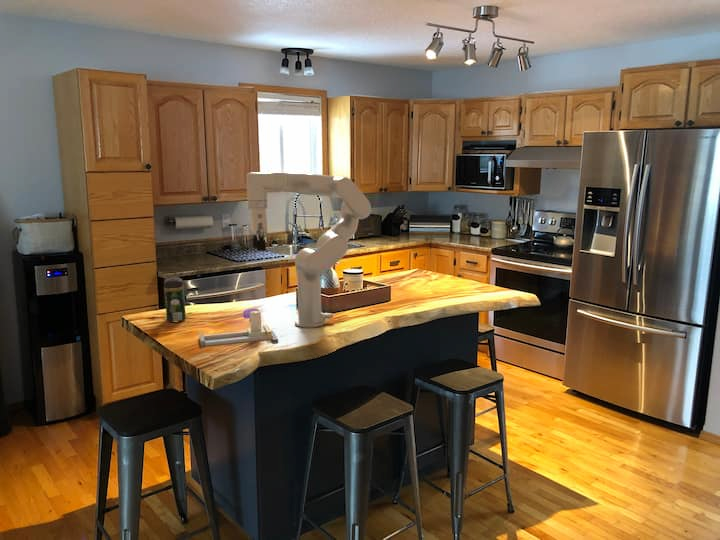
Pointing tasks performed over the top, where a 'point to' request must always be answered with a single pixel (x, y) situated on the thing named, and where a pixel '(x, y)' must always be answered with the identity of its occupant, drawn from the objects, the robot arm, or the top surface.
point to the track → (235, 338)
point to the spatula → (248, 312)
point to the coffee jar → (174, 299)
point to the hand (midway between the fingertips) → (259, 248)
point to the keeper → (255, 325)
